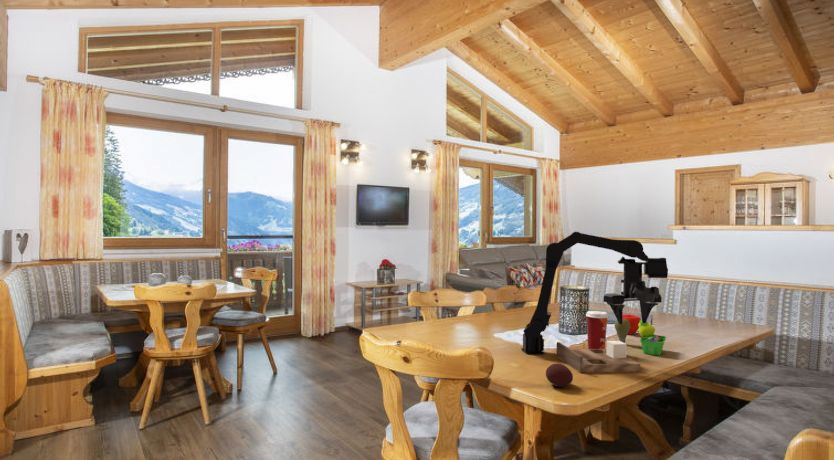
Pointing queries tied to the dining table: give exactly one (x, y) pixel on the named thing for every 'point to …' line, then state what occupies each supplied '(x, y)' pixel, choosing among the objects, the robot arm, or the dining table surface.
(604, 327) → the paper cup
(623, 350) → the block
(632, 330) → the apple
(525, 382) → the dining table surface
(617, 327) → the light bulb
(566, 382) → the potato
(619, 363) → the trap board
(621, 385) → the dining table surface
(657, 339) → the fruit basket
